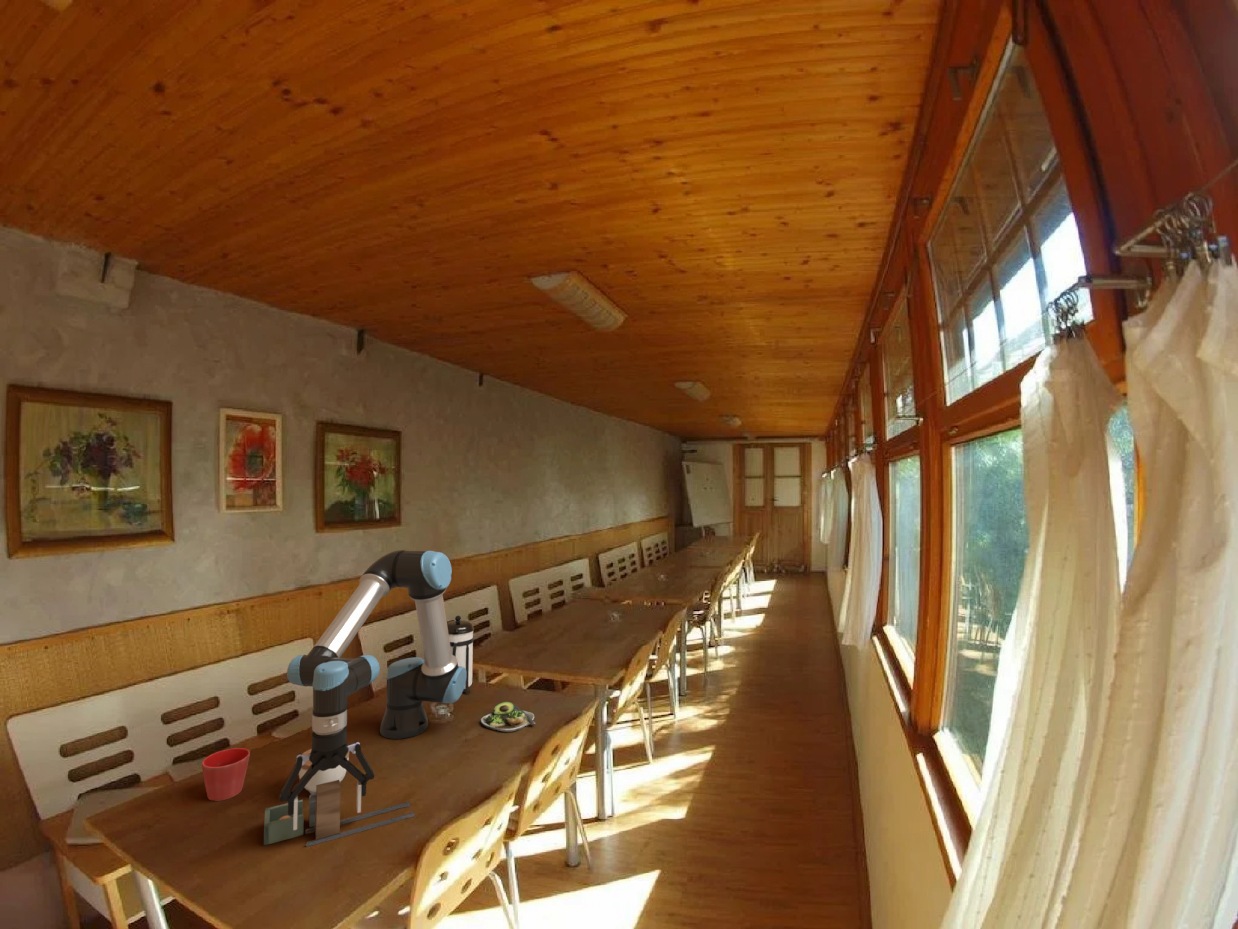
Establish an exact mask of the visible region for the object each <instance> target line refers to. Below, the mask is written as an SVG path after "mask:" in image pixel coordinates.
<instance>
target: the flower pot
mask: <svg viewBox="0 0 1238 929" xmlns="http://www.w3.org/2000/svg"><path fill="white" fill-rule="evenodd" d="M250 755H251V751H250V750H249V749H247V748H243V747H242V748H241V747H233V748H227V749H224V750H220V751H216V752H214V753H212V754H210V755H208V756H207V757H204V759H203V760H202V762H201V768H202V773H203V774H202V776H203V781H204V786H205V790H206V795H207V799H208V800H209V801H215V802H216V801H217V802H219V801H224V800H229V799H231V798H233V797H235V796H237V795H239V794H240V793H241V792H242V790H243V787H244V783H245V779H246V774H247V769H248V765H249V760H250Z"/></svg>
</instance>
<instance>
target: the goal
mask: <svg viewBox="0 0 1238 929" xmlns="http://www.w3.org/2000/svg"><path fill="white" fill-rule="evenodd" d="M303 800H304V799H298V813H297V830H293V815H288V802H287V803H283V804H280V805H275V806H271V807H266V808H265V809H264V821H263V822H264V825H263V826H264V827H263V847H264V846H267V845H270V844H272V845H273V844H275V843H279V842H282V841H286V840H289V839H293V838H297V837H300V836H304V816H305V815H304V813H303V810H304V809H303V806H304V805H303V804H304V803H303V802H304V801H303ZM283 816H290V817H289V818H285V819H281V820H279V819H280V818H281V817H283Z"/></svg>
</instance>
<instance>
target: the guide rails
mask: <svg viewBox="0 0 1238 929" xmlns="http://www.w3.org/2000/svg"><path fill="white" fill-rule="evenodd" d="M410 806H411V801H410V800H409V801H406V802H403V803H398V804H395V805H391V806H387V807H385V808H380V809H377V810H374V811H369V812H366V813H362V814H358V815H355V816H350V817H347V818H343V819H340V826H341V825H345V824H348V823H351V822H352V823H353V822H356V821H359V820H363V819H366V818H371V817H374V816H378V815H382V814H385V813H388V812H391V811H395V810H399V809H402V808H407V807H410ZM413 817H415V811H412V812H409V813H405V814H404V813H403V814H401V815H396V816H394V817H391V818H387V819H383V820H380V821H377V822H373V823H369V824H366V825H363V826H359V827H358V826H357V827H355V828H352V829H348V830H344V831H342V832H341V831H340V833H337V834H333V835H330V836H326V837H323V838H319V839H316V838H315V839H313V840H309V841H306V845H305V847H307V848H308V847H311V846H315V845H319V844H322V843H326V842H328V841H333V840H335V839H339V838H342V837H346V836H349V835H354V834H357V833H360V832H363V831H367V830H371V829H374V828H378V827H381V826H382V827H383V826H384V825H389V824H392V823H395V822H399V821H403V820H405V819H409V818H413ZM311 833H315V826H313V827H309V828H307V829H305V835H309V834H311Z"/></svg>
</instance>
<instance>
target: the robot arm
mask: <svg viewBox="0 0 1238 929" xmlns="http://www.w3.org/2000/svg"><path fill="white" fill-rule="evenodd" d="M452 572H453V569H452V564H451V562H450V559H449V558H448V556H447V555H446V554H445V553H443V552H441V551H433V550H405V549H404V550H403V549H399V550H394V551H391V552H388V553H386V554H384V555H383V556H381V557H379V558H378V559H376V560H375V561H374V562H373V563H372V564H371V565H370V566H369V567H367V569H366V570H364V572H363V574H362V575H361V576H360V578H359V585H358V586H357V588H356V589H355V590H354V591H353V593H352V594H351V596H350V597H349V598H348V600H346V602H345V604H343V606H342V608H340V610H339V612H337V614H336V615H335V617H334V619H333V620H332V622H330V624H329V625H328V626H327V628H326V630H325V631H324V632H323V633H322V635H321V636H320V638H319V639H318V640H317V641H316V643H315V644H314V645H313V647H311V650H310V651H308V653H307V654H299V655H297V656H295V657H294V658H292V659H291V661H290V662H289V663H288V666H287V668H286V669H287V671H286V677H287V680H288V682H289V683H290V684H293V685H296V686H301V687H312V714H311V715H312V718H311V719H312V722H311V723H312V724H311V731H312V733H311V749H312V750H311V753H310V754H305V755H302V754H303V753H301V752H299V753H297V755H296V757H295V764H294V765H293V767H292V770H291V771H290V773H289V775H288V777H287V779H286V781H285V782H284V785H283V786H282V788H281V790H280V792H279V800H278V801H279V802H284V801H286V802H287V803H288V815H293V830H297V813H298V800H299V798H298V797H299V796H298V795H300V793H301V792H302V790H303V789H305V788H304V787H305V786H306V784H307V783H308V782H309V781H310V779H311V778H312V777H313V776H314V775H315V774H316V773H317V772H318V770H322V771H325V770H327V769H334V768H336V767H337V766H339V765H340V766H341V767H342V768H344V769H346V770H347V772H348V773H349V774H350V775H351V776H353V778H354V779H356V802H355V803H356V805H355V807H356V812H357V814H359V813H362V797H366V794H367V784H368V781H369V780H370V781H371V780H373V779H374V778H375V773H374V771H373V769H372V767H371V765H370V764H369V762H368V760H367V759H366V757H365V755H364V753H363V752H362V749H361V748H362V747H361V743H360V741H359V740H357V741H355V742H354V743H352V744H350V745H349V744H347V739H348V737H347V734H348V732H347V731H348V727H347V725H348V724H347V723H348V698H349V696H350V695H353V694H354V693H356V692H358V691H359V690H361V689H365V687H368V686H369V685H370V684H371V683H373V682H374V681H375V680H376V679H377V678H378V676H379V675H380V670H381V669H380V663H379V660H377V658H376V657H375V656H374V655H371V654H363V655H360V656H357V658H345V657H342V655H343V654H344V652H346V649H348V647H349V645H351V643H352V642H353V640H354V638H355V636H356V635H357V633H358V632H359V631H360V629H361V627H362V626H363V625H364V623H365V622H366V621H367V619H368V618H369V616H370V615H371V614H372V612H373V611H374V609H375V607H376V606H377V604H378V603H379V602H380V600H381V598H383V597H386V596H387V595H388V594H389V593H390V591H391V590H393V589H395V588H404V589H406V588H407V592H408V597H409V598H410V599H411V600H413V601H414V603H415V610H416V614H417V615H416V616H417V620H418V627H419V634H420V639H421V646H422V651H423V656H424V657H423V658H422V657H419V656H417V657H408V658H403V659H400V660H397V661H395V662H392V663H391V664H389V666H388V667H387V671H386V678H385V679H386V704H385V705H386V707H385V708H386V709H385V712H384V715H383V717H382V721H381V723H380V726H379V727H380V728H379V729H380V730H379V732H380V733H379V734H380V735H381V736H382V737H383V738H386V739H393V740H399V739H402V740H403V739H407V738H412V737H415V736H418V735H421V734H422V733H424V732H425V731H426V730H427V729H428V725H429V724H428V722H429V721H428V716H427V713H426V710H425V706H424V704H423V703H424V702H427V703H428V702H429V703H430V702H431V703H440V704H452V703H456V702H457V701H458V700H459V699H460V697H461V696H462V694H463V692H464V691H463V690H464V686H465V683H466V674H467V673H466V669H465V668H464V667H462V666H460V667H459V666H458V662H457V658H456V657H455V656H454V655H452V654H451V647H450V640H449V634H448V627H447V623H448V621H447V615H446V608H445V600H444V596H443V594H444V593H445V592H446V591H447V588H448V587H449V585H450V583H451V581H452V574H453V573H452ZM348 751H349V752H351V754H352V755H354V754H355V757H356V758H357V760H358V762H359V763H360V765H361V767H362V768H363V770H364V771H365V774H364V773H363V772H362V771H360V770H361V769H359V768H357V767H356V766H355V765H354V764H353V763H352V762H351V761H348V760H347V758H346V757H345V756H346V755H347V753H348ZM307 760H310V761H311V763H312V764H311V766H310V767H309V769H308V770H307V772H306V773H305V774H304V775H303V776H302V778H301V779H300V778H299V780H298V782H297V783H296V784H295V785H294V783H295V781H296V779H297V777H299V772H300V770H301V767H302V765H304V764H305V763H306V761H307ZM293 785H294V786H293ZM292 787H293V788H292Z"/></svg>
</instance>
